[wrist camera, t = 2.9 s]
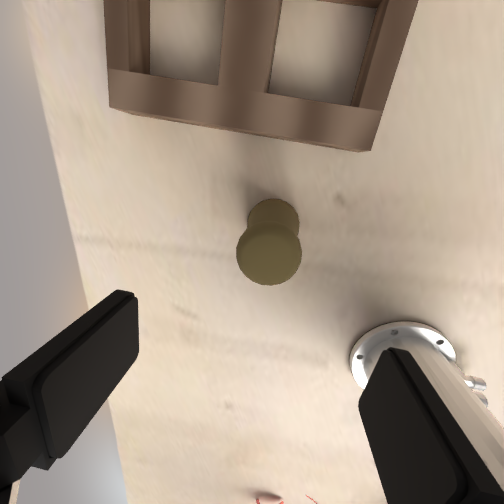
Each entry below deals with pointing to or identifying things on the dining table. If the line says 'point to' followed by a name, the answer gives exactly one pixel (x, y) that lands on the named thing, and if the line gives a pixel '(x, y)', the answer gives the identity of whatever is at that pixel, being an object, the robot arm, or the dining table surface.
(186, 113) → the socket board
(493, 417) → the robot arm
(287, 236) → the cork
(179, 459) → the dining table surface
